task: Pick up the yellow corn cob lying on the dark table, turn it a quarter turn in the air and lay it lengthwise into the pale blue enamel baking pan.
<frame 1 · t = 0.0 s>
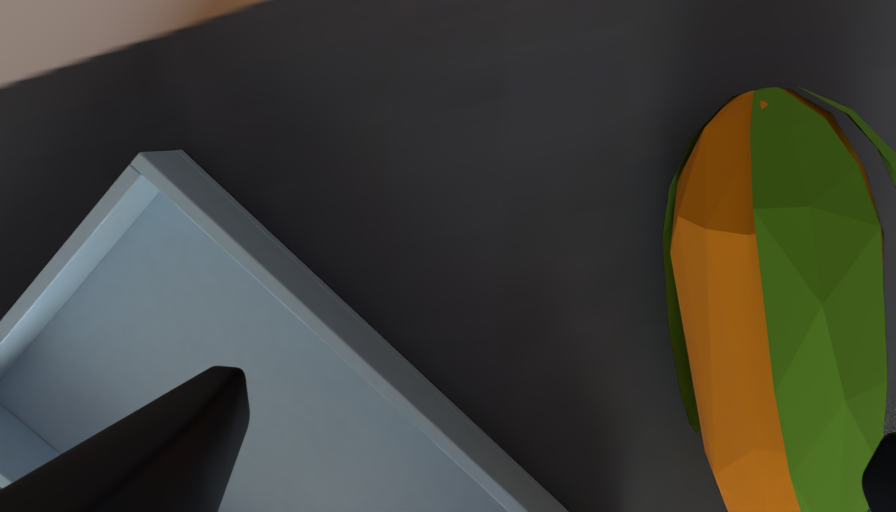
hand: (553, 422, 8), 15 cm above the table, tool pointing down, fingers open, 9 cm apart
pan: (298, 471, 26), on the table
corn: (746, 337, 24), on the table
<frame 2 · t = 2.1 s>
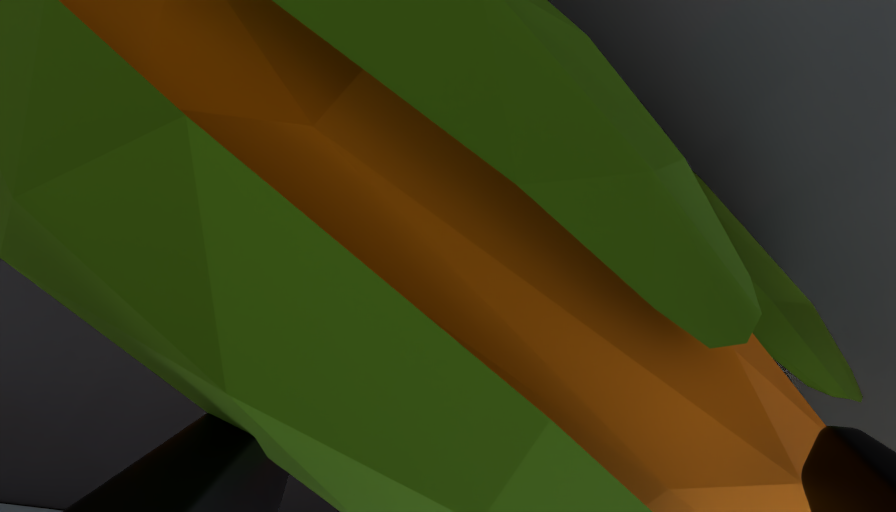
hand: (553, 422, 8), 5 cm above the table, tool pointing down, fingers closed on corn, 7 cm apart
corn: (540, 243, 13), on the table, touching gripper
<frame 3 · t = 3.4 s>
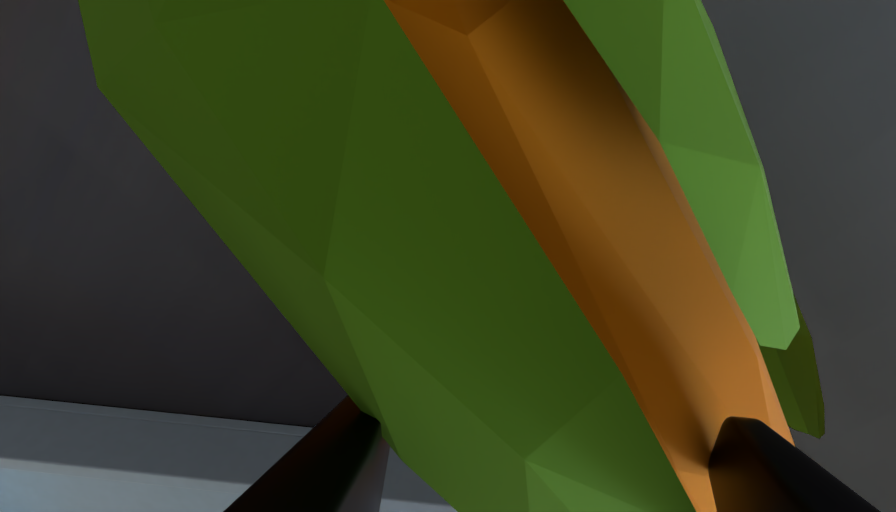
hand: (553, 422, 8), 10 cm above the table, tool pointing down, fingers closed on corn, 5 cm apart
corn: (565, 226, 13), point 4 cm above the table, touching gripper
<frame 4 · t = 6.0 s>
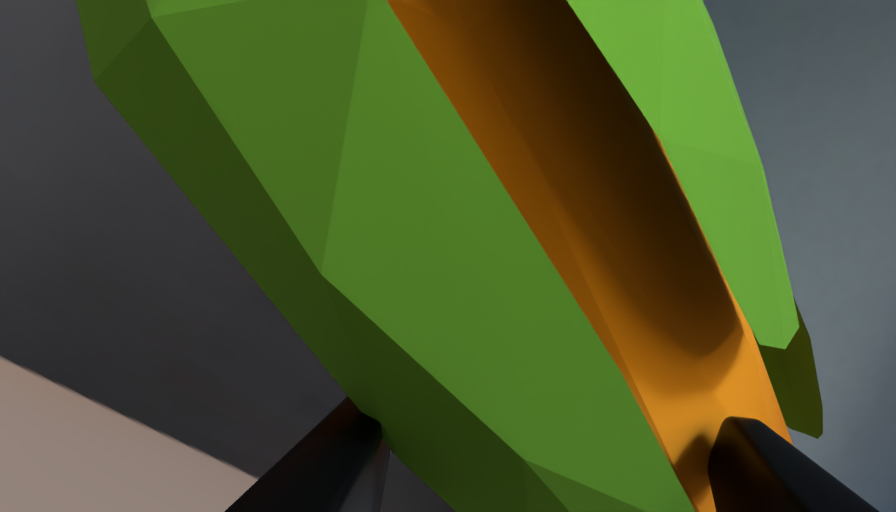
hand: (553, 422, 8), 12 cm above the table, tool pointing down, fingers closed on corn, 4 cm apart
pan: (784, 324, 21), on the table
corn: (563, 225, 13), point 6 cm above the table, touching gripper
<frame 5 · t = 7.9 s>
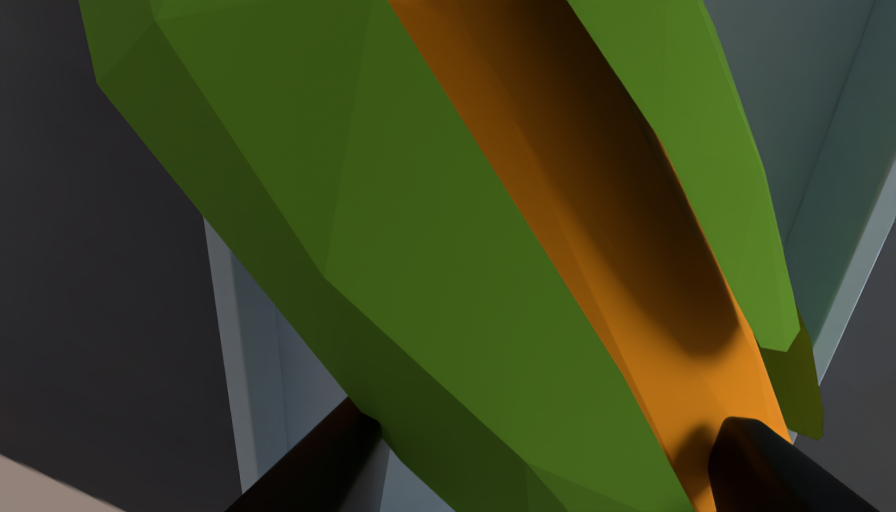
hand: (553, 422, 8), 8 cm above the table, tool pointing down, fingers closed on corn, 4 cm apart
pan: (522, 208, 16), on the table
corn: (564, 227, 13), point 2 cm above the table, touching gripper
when the fingers open (6 cm above the table, at t = 9.0 s): corn stays where it is, resting on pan.
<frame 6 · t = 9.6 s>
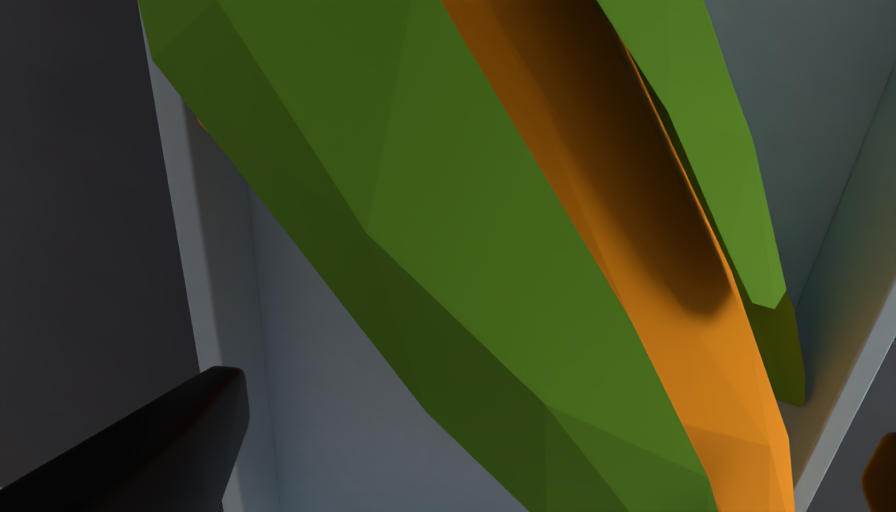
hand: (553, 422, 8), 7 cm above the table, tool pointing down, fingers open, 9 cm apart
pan: (527, 221, 14), on the table
corn: (562, 208, 14), resting on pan
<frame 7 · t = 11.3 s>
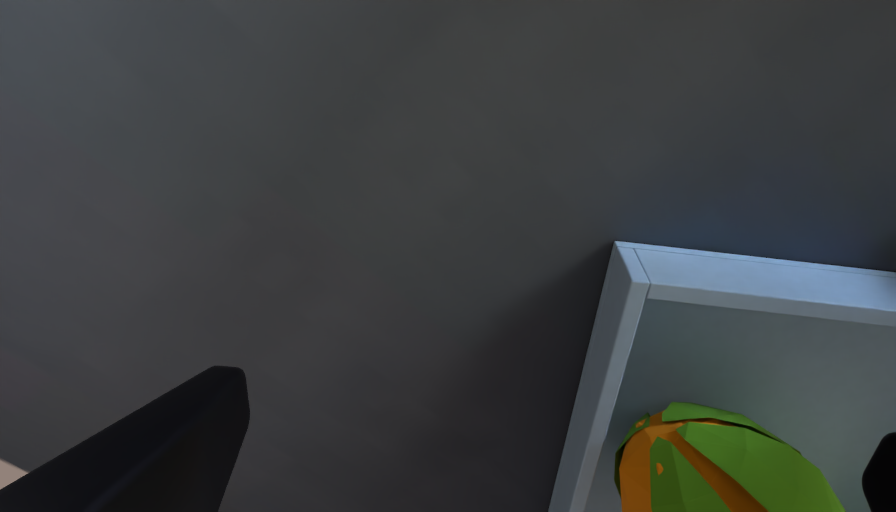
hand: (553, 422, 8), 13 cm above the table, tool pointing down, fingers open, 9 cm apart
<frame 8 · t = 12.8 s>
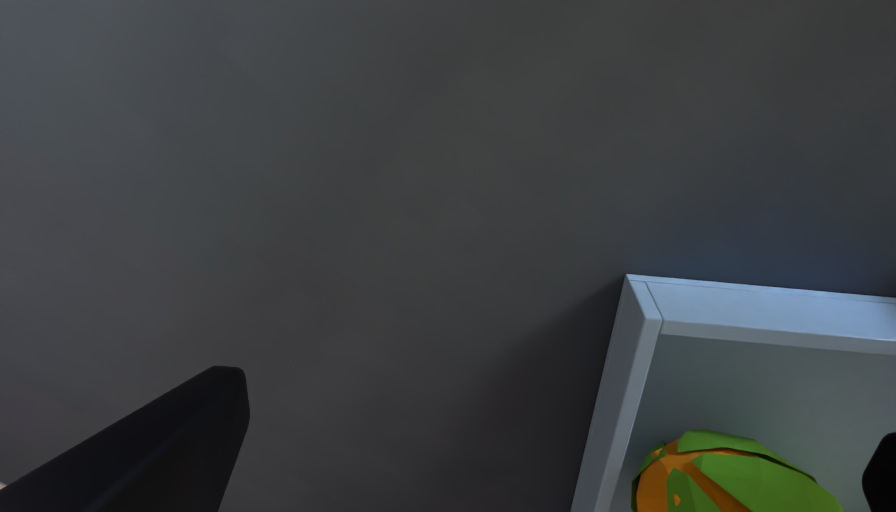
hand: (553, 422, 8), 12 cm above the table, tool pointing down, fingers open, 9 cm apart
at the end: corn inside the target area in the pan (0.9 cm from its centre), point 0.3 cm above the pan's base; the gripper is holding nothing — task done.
